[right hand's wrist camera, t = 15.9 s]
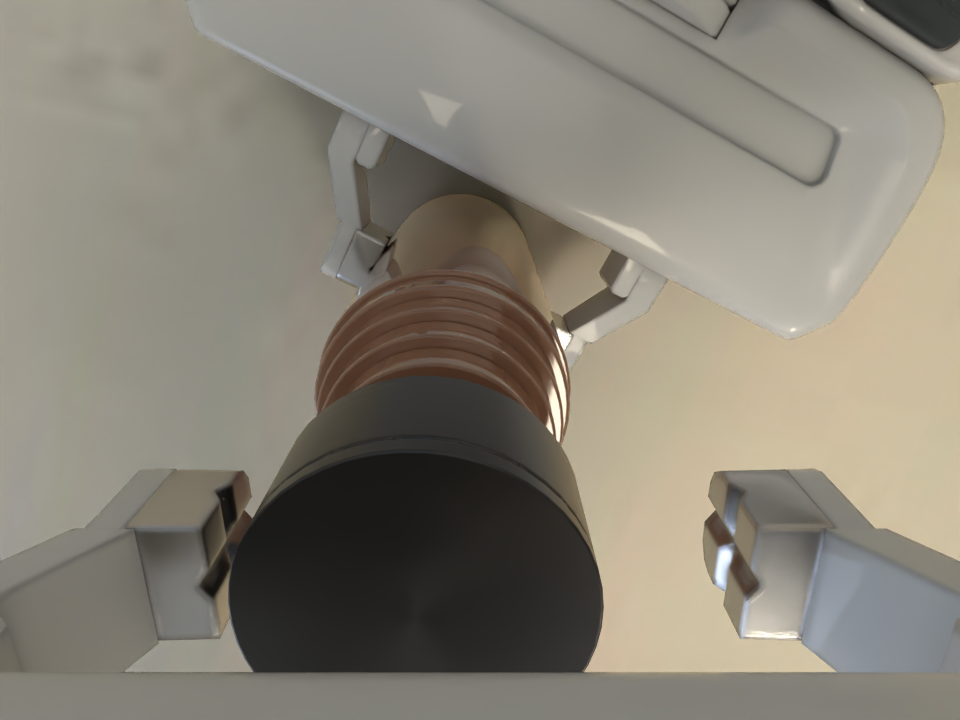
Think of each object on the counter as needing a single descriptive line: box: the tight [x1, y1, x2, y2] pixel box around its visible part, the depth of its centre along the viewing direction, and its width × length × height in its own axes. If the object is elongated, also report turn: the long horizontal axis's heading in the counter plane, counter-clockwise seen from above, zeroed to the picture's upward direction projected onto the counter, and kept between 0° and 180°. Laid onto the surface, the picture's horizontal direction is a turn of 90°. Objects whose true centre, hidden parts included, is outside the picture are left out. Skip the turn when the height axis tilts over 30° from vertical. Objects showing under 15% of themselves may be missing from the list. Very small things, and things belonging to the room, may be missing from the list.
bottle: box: [315, 194, 571, 445], centre depth 17 cm, size 5×5×19 cm
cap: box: [228, 375, 604, 672], centre depth 9 cm, size 5×4×2 cm
